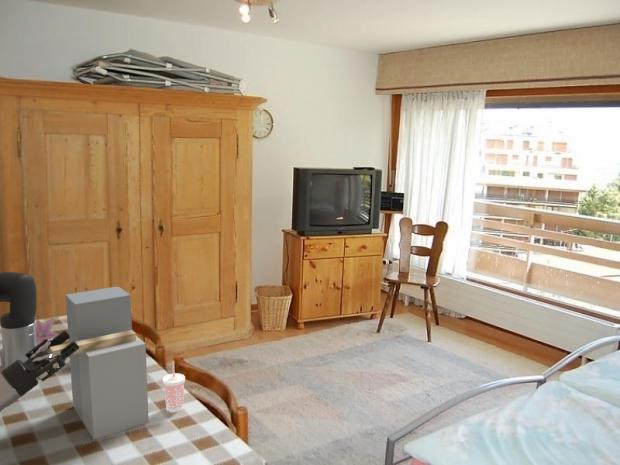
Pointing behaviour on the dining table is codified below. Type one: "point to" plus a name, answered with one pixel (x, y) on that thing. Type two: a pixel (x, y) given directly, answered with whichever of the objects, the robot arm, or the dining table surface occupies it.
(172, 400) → the beverage cup
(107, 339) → the maple bar
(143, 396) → the stepped stand
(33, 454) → the dining table surface
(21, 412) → the dining table surface
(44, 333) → the lily
